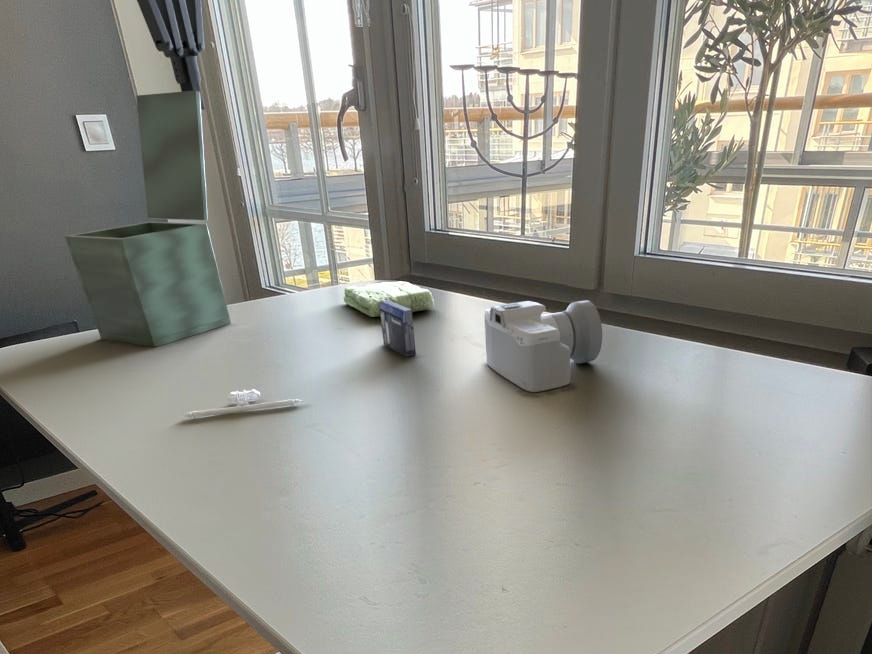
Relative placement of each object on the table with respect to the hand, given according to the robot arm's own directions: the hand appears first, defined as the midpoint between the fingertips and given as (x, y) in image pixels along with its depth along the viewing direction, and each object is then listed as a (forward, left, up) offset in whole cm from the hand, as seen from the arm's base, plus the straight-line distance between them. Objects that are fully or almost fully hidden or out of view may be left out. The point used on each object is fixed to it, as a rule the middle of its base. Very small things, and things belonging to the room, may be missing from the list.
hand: (195, 109), depth 112 cm
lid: (0, -7, -6) cm, 9 cm away
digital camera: (+70, -12, -30) cm, 77 cm away
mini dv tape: (+45, -11, -30) cm, 55 cm away
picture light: (+42, -39, -30) cm, 64 cm away
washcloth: (+26, +11, -30) cm, 41 cm away
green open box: (0, -17, -30) cm, 34 cm away
